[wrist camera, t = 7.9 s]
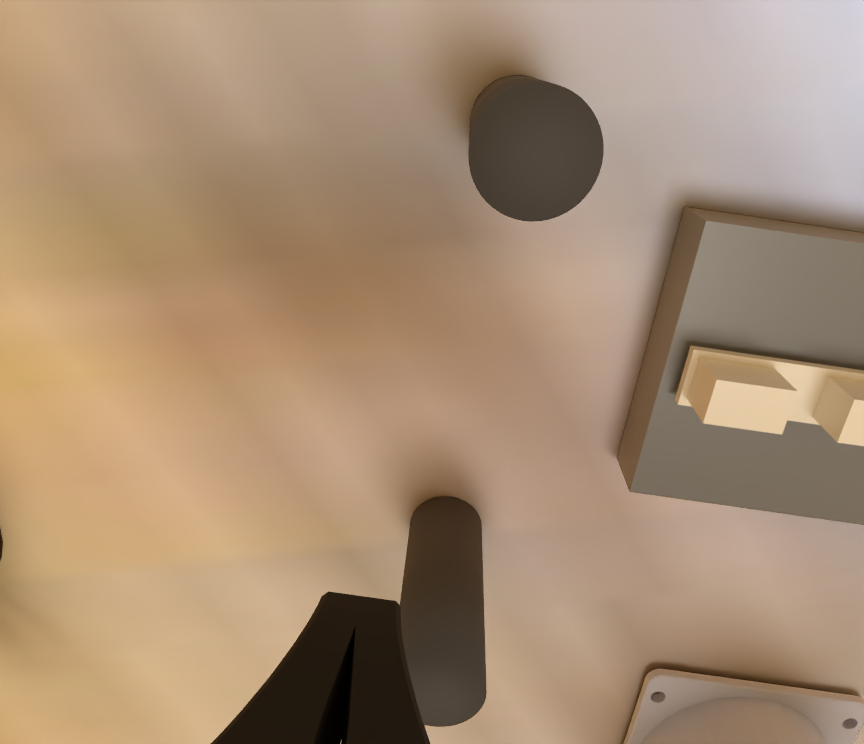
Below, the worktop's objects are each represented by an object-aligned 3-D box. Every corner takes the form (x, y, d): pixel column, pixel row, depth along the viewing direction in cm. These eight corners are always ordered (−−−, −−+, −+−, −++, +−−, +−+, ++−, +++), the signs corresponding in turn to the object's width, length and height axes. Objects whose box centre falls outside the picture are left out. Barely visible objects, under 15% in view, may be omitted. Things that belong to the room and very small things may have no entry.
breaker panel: (925, 501, 23) (964, 539, 22) (617, 458, 23) (630, 491, 21) (1040, 258, 20) (1097, 277, 18) (684, 206, 20) (706, 220, 18)
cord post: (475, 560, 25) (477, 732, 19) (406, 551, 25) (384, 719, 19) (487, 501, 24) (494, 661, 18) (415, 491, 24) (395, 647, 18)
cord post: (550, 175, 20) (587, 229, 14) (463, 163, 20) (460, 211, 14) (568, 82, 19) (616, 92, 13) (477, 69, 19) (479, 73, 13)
